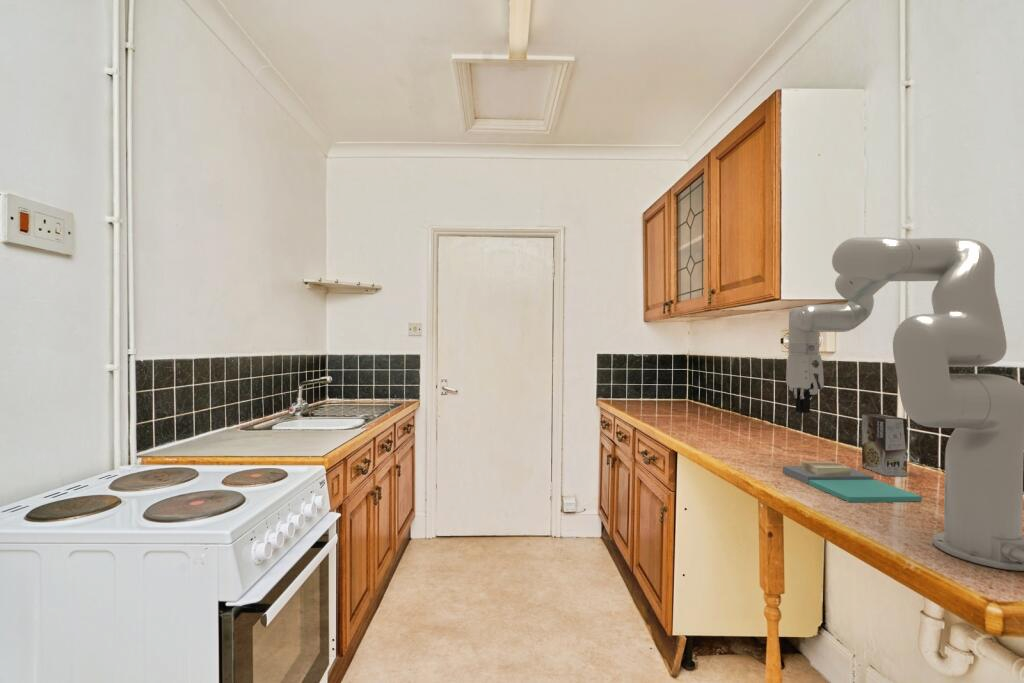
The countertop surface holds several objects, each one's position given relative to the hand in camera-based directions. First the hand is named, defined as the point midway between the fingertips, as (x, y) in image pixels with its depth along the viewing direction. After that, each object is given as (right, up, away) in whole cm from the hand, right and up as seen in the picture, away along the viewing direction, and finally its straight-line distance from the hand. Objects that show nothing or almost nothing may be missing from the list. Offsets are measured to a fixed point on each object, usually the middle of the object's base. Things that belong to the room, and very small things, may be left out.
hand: (802, 412), depth 132 cm
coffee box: (+23, -17, -1) cm, 29 cm away
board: (+1, -17, -8) cm, 19 cm away
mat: (+2, -17, -20) cm, 26 cm away
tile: (0, -15, -9) cm, 17 cm away
